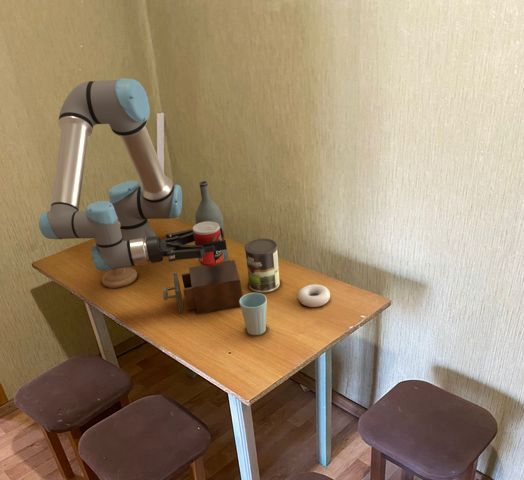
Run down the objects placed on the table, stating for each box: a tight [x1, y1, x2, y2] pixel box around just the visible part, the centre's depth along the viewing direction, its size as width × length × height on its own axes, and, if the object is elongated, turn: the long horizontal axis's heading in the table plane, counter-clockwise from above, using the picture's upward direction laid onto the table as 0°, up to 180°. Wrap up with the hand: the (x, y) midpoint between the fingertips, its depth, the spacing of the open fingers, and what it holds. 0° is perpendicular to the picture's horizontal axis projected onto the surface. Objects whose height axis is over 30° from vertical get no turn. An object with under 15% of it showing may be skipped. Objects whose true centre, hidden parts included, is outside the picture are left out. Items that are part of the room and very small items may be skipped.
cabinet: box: [188, 259, 243, 315], centre depth 166 cm, size 15×13×10 cm
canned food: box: [192, 221, 224, 266], centre depth 157 cm, size 8×8×11 cm
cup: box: [239, 292, 268, 336], centre depth 151 cm, size 8×8×10 cm
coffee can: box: [244, 238, 281, 294], centre depth 169 cm, size 10×10×14 cm
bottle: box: [194, 180, 229, 262], centre depth 177 cm, size 9×9×30 cm
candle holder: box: [101, 221, 138, 289], centre depth 178 cm, size 12×12×20 cm
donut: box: [297, 283, 331, 308], centre depth 163 cm, size 10×3×10 cm
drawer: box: [162, 272, 196, 314], centre depth 165 cm, size 18×11×8 cm, turn 100°
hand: (224, 238), depth 156 cm, fingers closed on canned food, 8 cm apart
